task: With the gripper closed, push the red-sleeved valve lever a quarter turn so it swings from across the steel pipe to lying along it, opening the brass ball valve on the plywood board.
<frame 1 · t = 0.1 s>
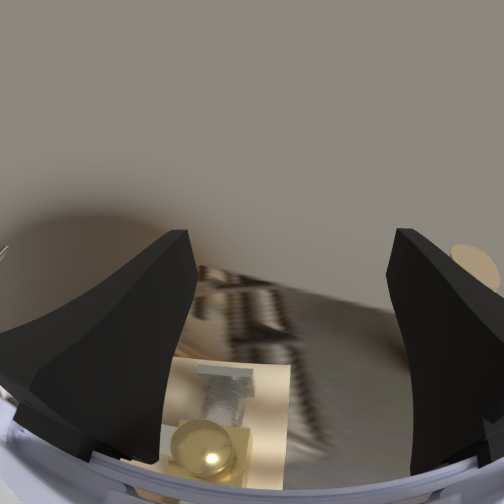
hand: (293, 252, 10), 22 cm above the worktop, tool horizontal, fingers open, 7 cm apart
handle: (423, 371, 26), on the worktop
valve: (216, 467, 20), resting on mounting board
lever: (138, 435, 18), point 6 cm above the worktop, hinge at 90.0°
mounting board: (188, 449, 22), on the worktop
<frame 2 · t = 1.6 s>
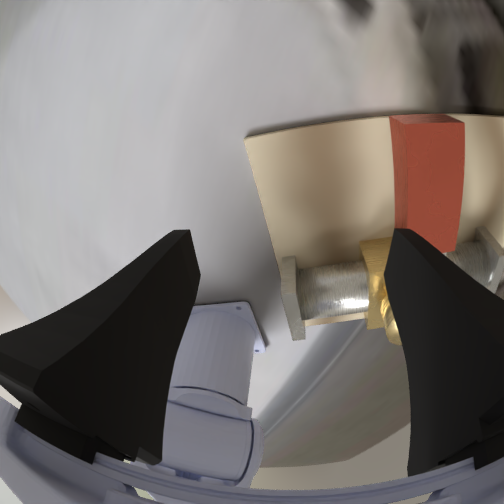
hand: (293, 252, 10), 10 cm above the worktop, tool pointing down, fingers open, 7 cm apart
valve: (391, 261, 22), resting on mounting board
lever: (422, 251, 14), point 6 cm above the worktop, hinge at 90.0°
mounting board: (410, 229, 20), on the worktop
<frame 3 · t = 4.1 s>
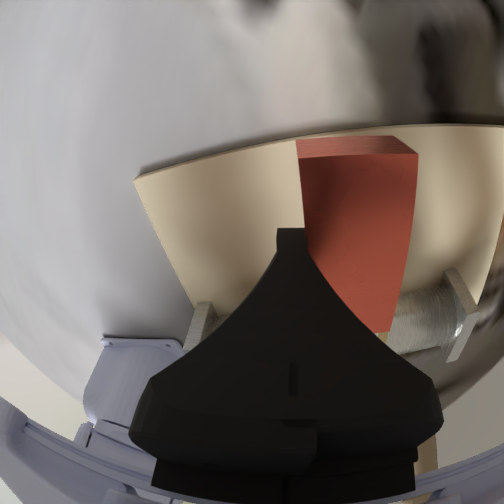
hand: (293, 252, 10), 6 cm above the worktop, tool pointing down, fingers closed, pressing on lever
handle: (414, 401, 29), on the worktop
valve: (331, 308, 19), resting on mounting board
lever: (346, 324, 12), point 6 cm above the worktop, hinge at 85.4°, touching gripper
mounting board: (351, 273, 17), on the worktop
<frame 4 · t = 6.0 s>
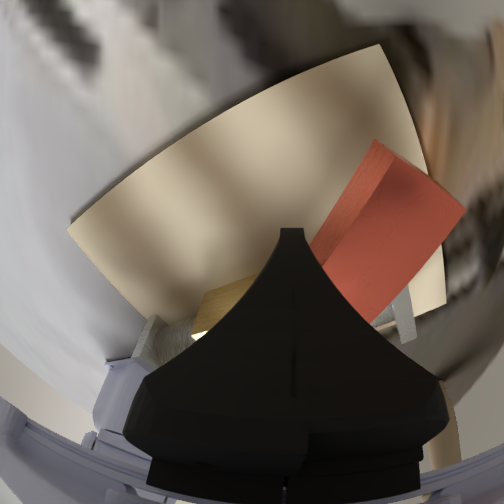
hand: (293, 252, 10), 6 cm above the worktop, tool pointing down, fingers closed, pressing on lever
handle: (430, 383, 26), on the worktop
valve: (265, 302, 20), resting on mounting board
lever: (308, 321, 12), point 6 cm above the worktop, hinge at 37.5°, touching gripper
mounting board: (264, 264, 18), on the worktop
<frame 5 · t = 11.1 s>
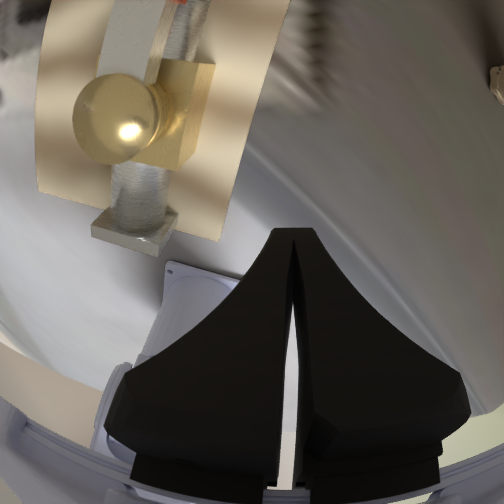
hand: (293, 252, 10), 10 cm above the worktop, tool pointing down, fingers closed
handle: (498, 83, 12), on the worktop
valve: (164, 99, 16), resting on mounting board
lever: (143, 10, 8), point 6 cm above the worktop, hinge at -1.5°
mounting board: (129, 74, 15), on the worktop
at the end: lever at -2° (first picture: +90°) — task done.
